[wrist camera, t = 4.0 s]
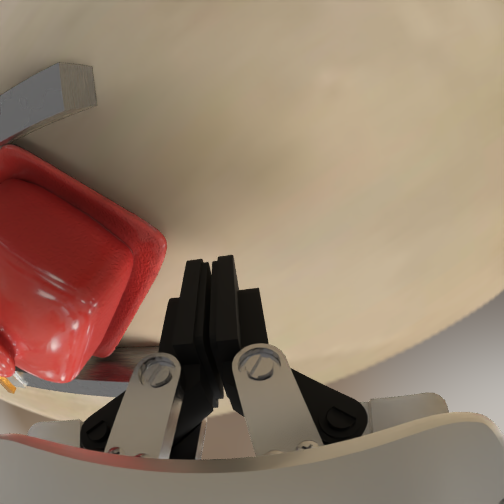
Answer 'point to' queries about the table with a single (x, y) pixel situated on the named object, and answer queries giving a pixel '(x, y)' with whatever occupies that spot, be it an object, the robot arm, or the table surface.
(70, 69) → the grey open box
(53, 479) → the robot arm
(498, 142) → the table surface
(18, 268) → the butter dish
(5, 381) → the brushed metal plate
